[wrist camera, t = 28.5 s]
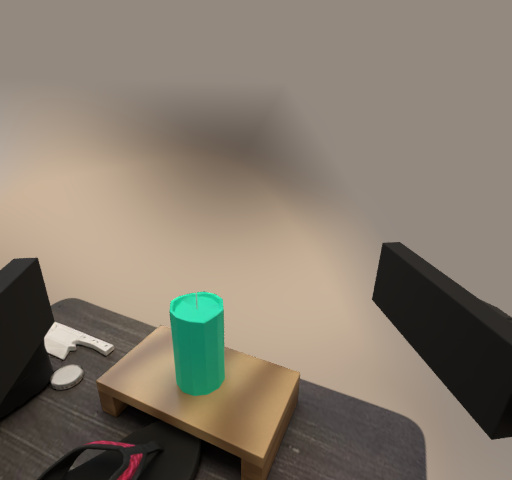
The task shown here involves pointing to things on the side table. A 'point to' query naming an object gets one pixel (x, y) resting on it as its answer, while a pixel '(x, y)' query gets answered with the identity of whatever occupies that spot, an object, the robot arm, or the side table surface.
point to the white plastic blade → (71, 341)
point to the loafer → (28, 380)
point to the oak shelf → (208, 400)
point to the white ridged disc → (67, 377)
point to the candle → (198, 342)
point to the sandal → (135, 457)
